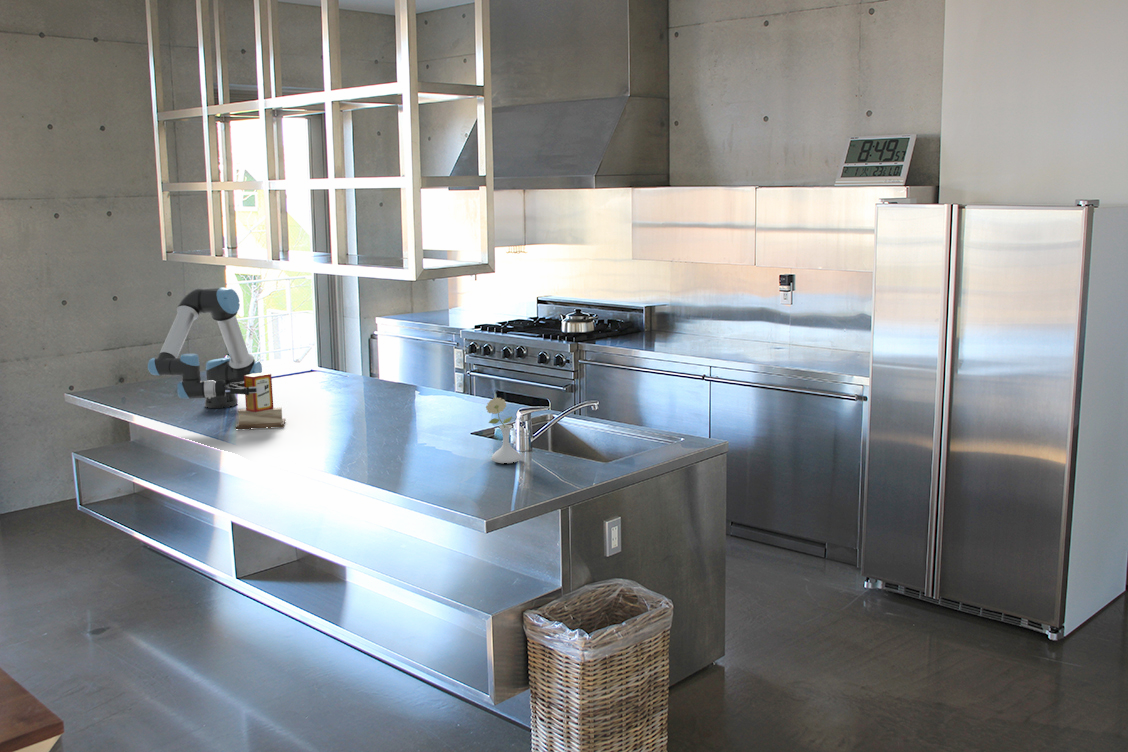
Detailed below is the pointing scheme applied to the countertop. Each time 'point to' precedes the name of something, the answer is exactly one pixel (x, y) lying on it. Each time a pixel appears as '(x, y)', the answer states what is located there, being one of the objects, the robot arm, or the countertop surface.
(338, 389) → the countertop surface
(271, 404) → the baking soda box
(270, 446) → the countertop surface
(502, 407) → the flower in vase
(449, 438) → the countertop surface
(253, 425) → the ridge stand
